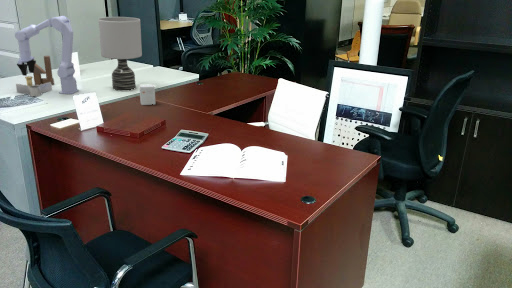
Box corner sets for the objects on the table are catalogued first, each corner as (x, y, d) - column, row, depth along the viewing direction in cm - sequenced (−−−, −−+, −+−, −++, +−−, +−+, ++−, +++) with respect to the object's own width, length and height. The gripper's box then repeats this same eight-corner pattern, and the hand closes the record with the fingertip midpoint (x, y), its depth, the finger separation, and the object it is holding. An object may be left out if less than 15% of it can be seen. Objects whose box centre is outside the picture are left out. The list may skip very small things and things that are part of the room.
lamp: (105, 83, 289) (99, 16, 273) (143, 83, 295) (139, 17, 279) (102, 93, 268) (96, 21, 252) (143, 92, 274) (140, 22, 258)
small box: (154, 101, 257) (153, 84, 253) (155, 104, 252) (154, 86, 248) (140, 102, 255) (139, 84, 251) (141, 105, 250) (140, 87, 246)
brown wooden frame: (36, 83, 281) (32, 55, 275) (54, 83, 283) (50, 55, 277) (34, 85, 278) (30, 56, 271) (52, 85, 280) (49, 56, 273)
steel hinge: (26, 88, 270) (24, 80, 269) (52, 89, 270) (51, 81, 268) (11, 95, 256) (9, 86, 254) (38, 96, 255) (37, 88, 253)
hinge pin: (29, 88, 271) (27, 76, 268) (35, 88, 270) (33, 76, 268) (25, 89, 267) (23, 77, 264) (31, 90, 267) (30, 77, 264)
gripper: (25, 48, 267) (28, 71, 272) (11, 52, 254) (14, 76, 259) (36, 49, 267) (39, 71, 272) (23, 53, 253) (26, 77, 258)
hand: (28, 74), depth 265 cm, fingers open, 7 cm apart
